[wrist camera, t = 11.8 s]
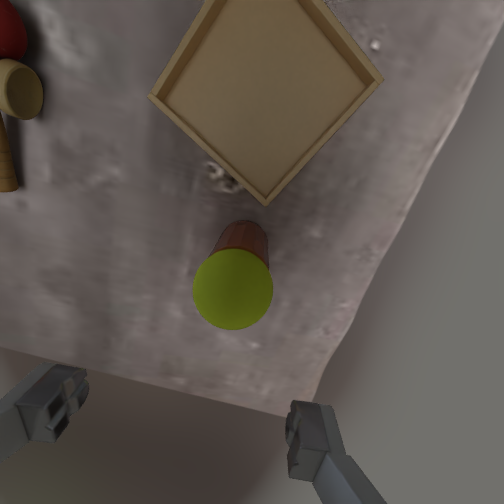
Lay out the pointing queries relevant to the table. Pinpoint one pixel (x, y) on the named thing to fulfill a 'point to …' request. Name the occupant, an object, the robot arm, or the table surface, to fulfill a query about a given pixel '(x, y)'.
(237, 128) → the tray
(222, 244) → the cup
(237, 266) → the tennis ball
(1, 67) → the kendama
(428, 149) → the table surface
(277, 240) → the table surface
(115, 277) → the table surface
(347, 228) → the table surface
